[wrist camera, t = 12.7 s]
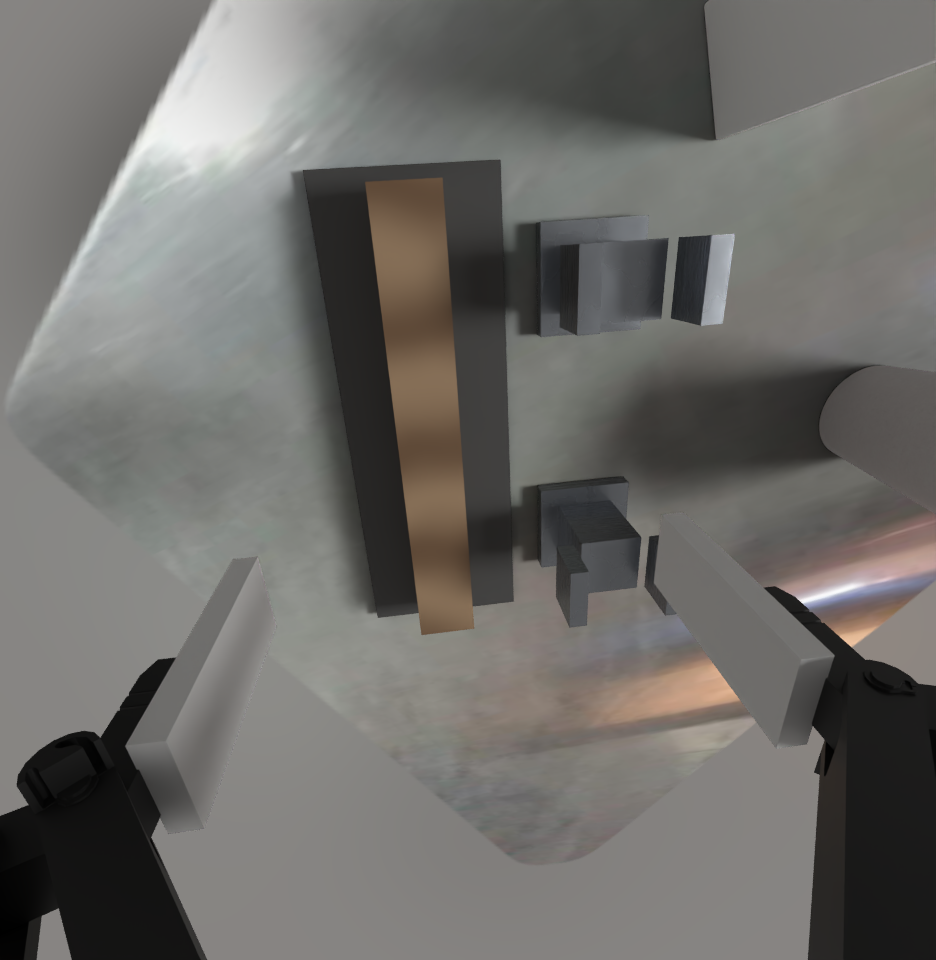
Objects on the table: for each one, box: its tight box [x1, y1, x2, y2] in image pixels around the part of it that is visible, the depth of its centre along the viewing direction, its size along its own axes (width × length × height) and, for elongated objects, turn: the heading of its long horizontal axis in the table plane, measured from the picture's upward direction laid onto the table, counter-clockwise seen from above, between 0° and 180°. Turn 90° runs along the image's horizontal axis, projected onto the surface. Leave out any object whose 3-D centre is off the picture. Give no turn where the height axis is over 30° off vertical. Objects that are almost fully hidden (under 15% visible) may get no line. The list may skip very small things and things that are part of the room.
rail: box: [365, 178, 474, 635], centre depth 30 cm, size 26×4×4 cm, turn 4°
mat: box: [303, 160, 514, 618], centre depth 32 cm, size 28×10×1 cm, turn 4°
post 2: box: [538, 477, 676, 628], centre depth 32 cm, size 6×7×9 cm
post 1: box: [536, 215, 735, 337], centre depth 26 cm, size 6×7×9 cm
